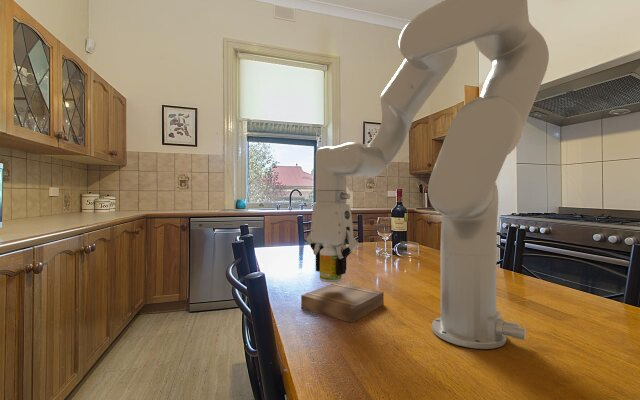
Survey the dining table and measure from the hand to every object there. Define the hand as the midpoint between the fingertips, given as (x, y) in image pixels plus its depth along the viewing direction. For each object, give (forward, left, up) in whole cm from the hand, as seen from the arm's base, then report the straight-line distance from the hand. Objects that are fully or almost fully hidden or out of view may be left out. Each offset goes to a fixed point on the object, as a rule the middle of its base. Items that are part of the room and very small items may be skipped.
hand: (330, 271), depth 76 cm
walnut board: (-4, 0, -8) cm, 9 cm away
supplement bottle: (0, 0, -2) cm, 2 cm away
